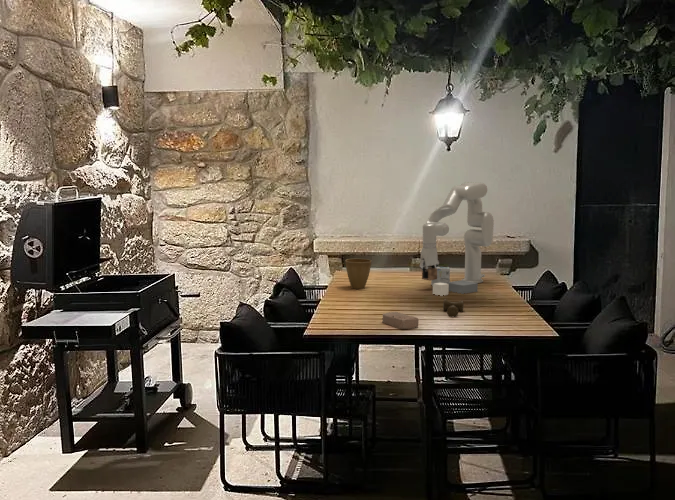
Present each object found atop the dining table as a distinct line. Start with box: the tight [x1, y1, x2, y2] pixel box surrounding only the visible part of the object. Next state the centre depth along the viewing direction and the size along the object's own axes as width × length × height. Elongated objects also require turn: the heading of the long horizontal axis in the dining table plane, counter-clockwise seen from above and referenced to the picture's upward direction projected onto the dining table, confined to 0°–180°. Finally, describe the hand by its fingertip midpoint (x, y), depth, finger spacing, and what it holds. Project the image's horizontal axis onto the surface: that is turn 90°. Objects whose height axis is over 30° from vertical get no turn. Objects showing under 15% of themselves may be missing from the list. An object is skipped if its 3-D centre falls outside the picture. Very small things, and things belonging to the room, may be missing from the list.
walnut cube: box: [421, 267, 437, 282], centre depth 363 cm, size 6×6×6 cm
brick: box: [382, 311, 419, 330], centre depth 281 cm, size 17×8×5 cm, turn 31°
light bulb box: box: [430, 266, 451, 287], centre depth 375 cm, size 11×7×11 cm, turn 84°
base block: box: [447, 279, 479, 295], centre depth 359 cm, size 12×12×5 cm
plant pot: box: [345, 258, 373, 290], centre depth 367 cm, size 15×15×16 cm
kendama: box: [442, 298, 465, 317], centre depth 305 cm, size 6×10×20 cm
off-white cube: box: [432, 283, 450, 297], centre depth 349 cm, size 6×6×6 cm
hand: (429, 277), depth 363 cm, fingers closed on walnut cube, 6 cm apart
